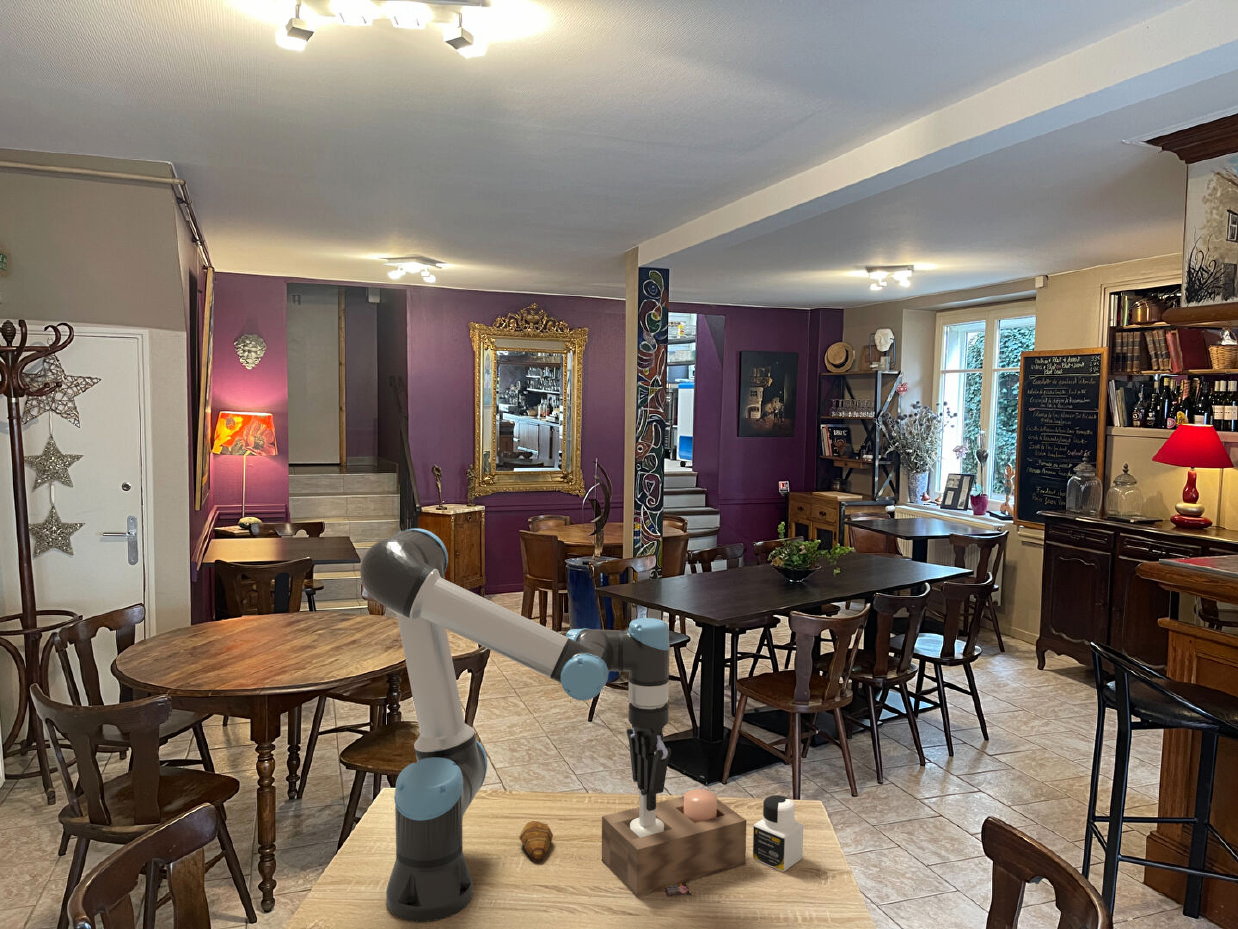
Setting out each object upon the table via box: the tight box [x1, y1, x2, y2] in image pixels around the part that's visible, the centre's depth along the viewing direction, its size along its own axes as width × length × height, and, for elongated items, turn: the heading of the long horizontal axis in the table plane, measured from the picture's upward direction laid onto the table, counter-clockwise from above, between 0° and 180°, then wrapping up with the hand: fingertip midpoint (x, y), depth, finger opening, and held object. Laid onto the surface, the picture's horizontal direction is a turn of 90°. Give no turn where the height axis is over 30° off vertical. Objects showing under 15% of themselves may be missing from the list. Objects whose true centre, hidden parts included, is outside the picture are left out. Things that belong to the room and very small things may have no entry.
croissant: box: [519, 820, 554, 862], centre depth 175 cm, size 14×7×5 cm, turn 10°
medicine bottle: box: [752, 794, 804, 873], centre depth 171 cm, size 7×7×12 cm
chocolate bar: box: [664, 882, 693, 898], centre depth 163 cm, size 11×5×1 cm, turn 9°
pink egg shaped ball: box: [683, 788, 718, 823], centre depth 172 cm, size 6×6×8 cm
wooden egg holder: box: [601, 795, 747, 898], centre depth 169 cm, size 24×14×9 cm, turn 118°
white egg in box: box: [630, 818, 664, 837], centre depth 166 cm, size 6×6×8 cm
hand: (647, 823), depth 166 cm, fingers closed
